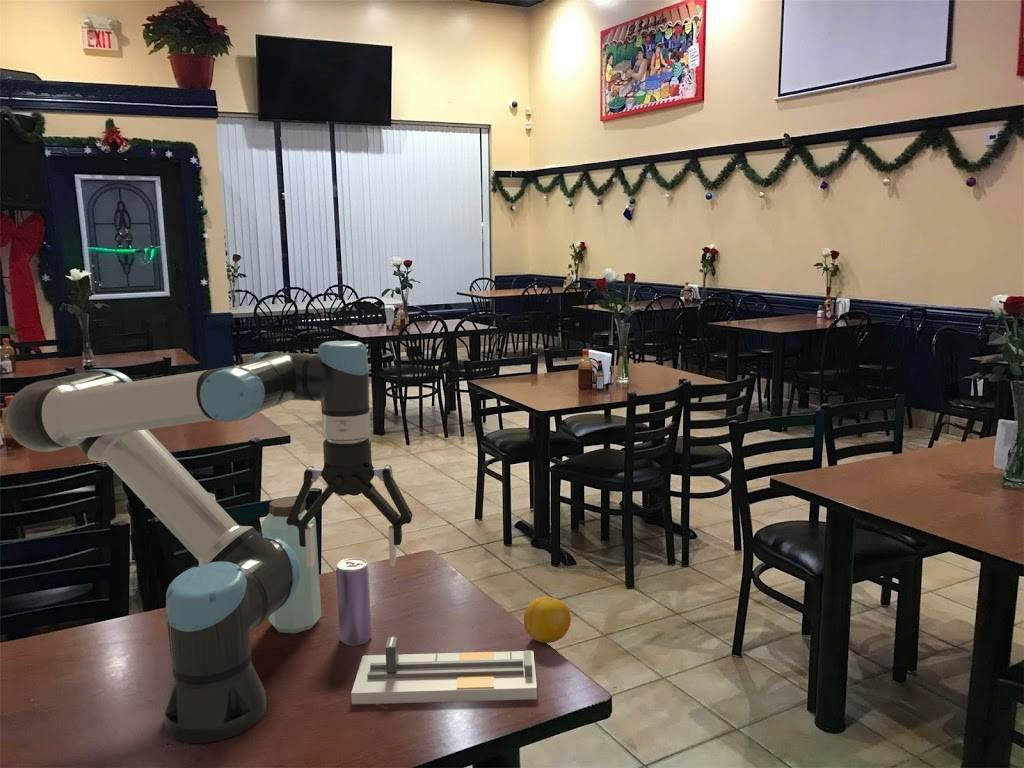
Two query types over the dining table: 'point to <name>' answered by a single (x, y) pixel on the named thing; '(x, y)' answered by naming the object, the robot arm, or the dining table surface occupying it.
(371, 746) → the dining table surface
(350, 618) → the beverage can
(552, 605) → the fruit
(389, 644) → the fader
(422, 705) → the dining table surface
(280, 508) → the water bottle
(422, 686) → the console
